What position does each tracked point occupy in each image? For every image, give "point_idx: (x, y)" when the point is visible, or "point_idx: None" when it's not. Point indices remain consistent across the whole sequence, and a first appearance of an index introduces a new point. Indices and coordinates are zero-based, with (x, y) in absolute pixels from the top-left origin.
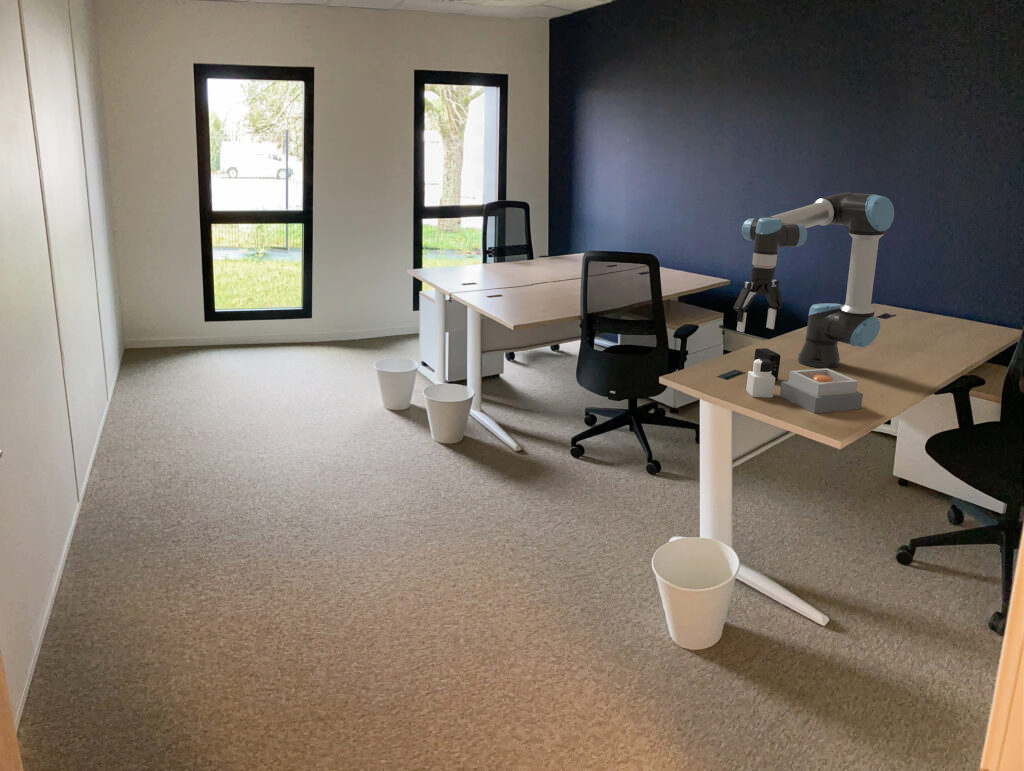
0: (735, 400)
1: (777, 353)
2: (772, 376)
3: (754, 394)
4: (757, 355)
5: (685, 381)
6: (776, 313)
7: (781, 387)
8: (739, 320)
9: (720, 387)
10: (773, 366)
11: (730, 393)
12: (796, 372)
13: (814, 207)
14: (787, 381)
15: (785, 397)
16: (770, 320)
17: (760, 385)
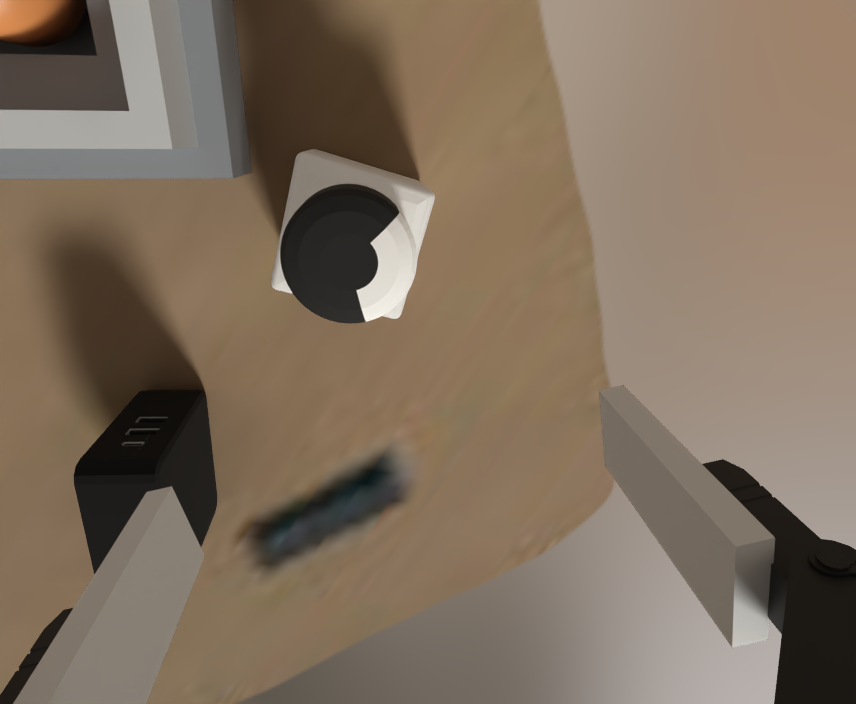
0: (536, 158)
1: (80, 500)
2: (311, 171)
3: (414, 179)
4: None
5: (582, 460)
6: (16, 678)
7: (240, 170)
8: (744, 477)
9: (483, 360)
10: (147, 430)
11: (492, 268)
12: (135, 98)
13: None
14: (191, 170)
15: (244, 117)
16: (154, 587)
17: (390, 175)
